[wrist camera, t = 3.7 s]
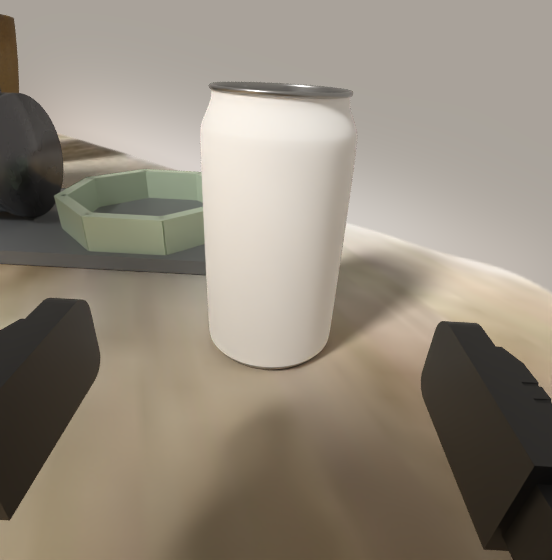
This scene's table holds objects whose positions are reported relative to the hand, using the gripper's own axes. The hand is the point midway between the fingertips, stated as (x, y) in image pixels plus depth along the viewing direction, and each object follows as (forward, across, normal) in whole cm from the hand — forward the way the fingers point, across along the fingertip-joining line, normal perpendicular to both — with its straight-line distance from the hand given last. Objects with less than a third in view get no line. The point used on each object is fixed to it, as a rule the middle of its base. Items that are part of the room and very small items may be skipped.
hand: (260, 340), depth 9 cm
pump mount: (+23, +15, +7) cm, 28 cm away
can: (+10, 0, +7) cm, 12 cm away
